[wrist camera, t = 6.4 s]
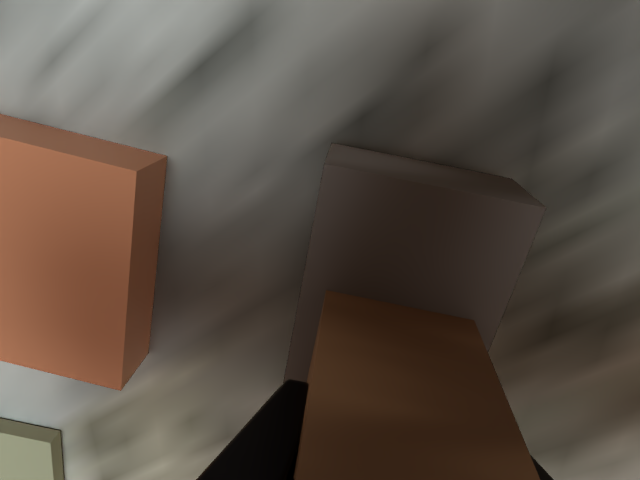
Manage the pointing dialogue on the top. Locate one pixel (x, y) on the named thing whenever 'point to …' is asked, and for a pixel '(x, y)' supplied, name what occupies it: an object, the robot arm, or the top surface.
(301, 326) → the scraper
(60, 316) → the tile
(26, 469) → the mat
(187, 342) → the top surface
